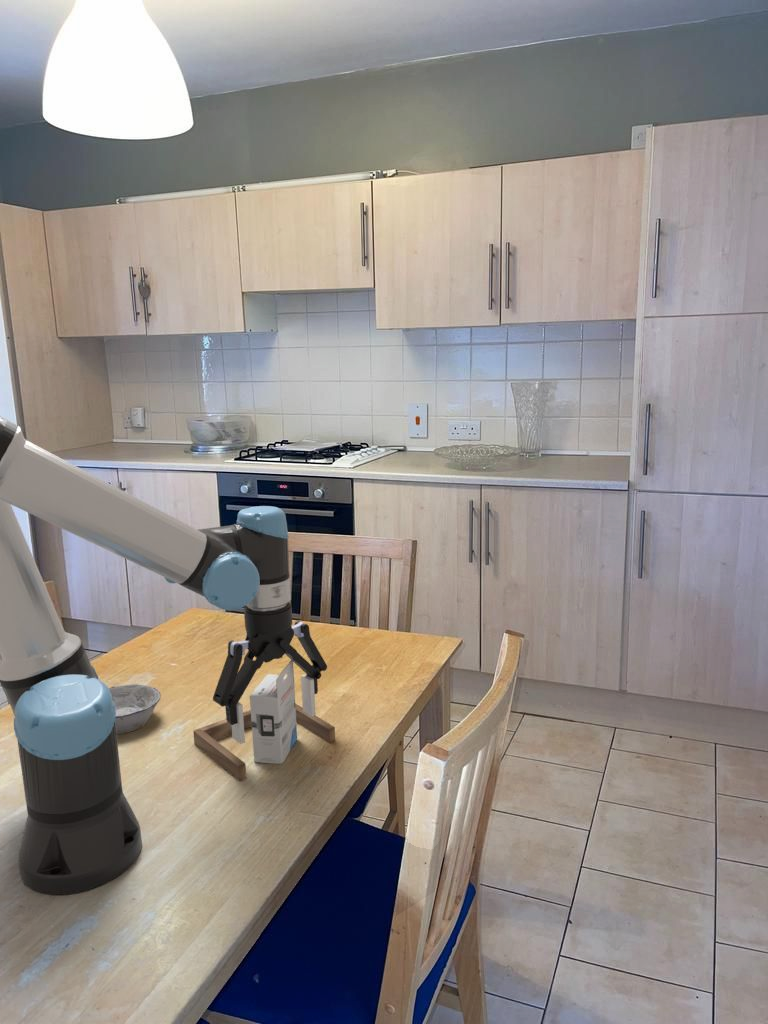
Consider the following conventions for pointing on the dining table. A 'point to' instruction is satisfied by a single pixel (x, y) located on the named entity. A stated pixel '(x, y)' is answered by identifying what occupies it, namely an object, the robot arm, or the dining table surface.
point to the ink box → (274, 717)
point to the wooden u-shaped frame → (212, 732)
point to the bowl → (133, 706)
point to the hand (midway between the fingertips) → (275, 726)
